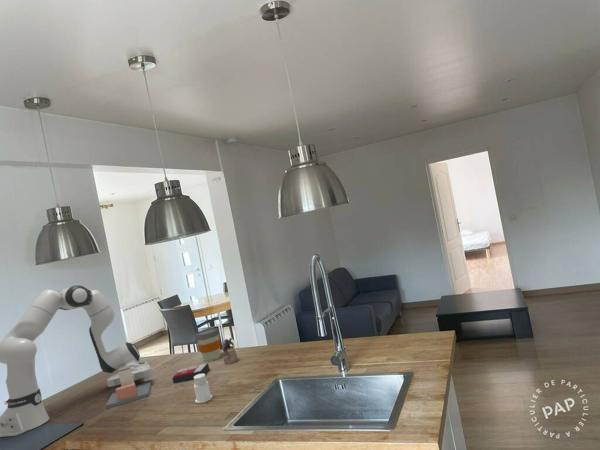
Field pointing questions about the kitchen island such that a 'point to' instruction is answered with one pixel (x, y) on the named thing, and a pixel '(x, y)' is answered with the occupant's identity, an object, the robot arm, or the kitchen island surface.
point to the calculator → (190, 373)
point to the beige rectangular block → (125, 376)
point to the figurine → (229, 352)
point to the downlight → (201, 389)
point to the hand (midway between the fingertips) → (127, 381)
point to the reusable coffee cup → (209, 344)
